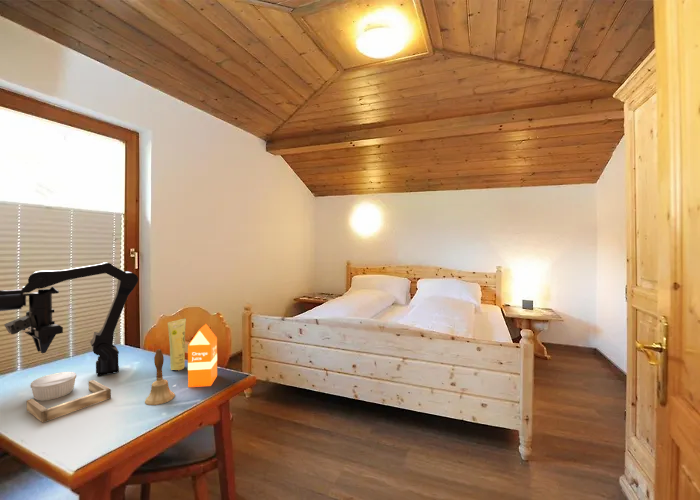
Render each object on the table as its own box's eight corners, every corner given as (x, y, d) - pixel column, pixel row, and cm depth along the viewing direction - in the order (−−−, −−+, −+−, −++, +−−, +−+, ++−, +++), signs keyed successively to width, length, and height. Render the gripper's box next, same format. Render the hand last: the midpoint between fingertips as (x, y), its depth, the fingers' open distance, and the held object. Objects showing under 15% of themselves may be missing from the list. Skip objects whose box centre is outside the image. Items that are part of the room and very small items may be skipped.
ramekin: (47, 404, 98) (47, 387, 98) (20, 400, 101) (20, 384, 101) (85, 388, 109) (85, 373, 109) (60, 385, 112) (59, 370, 112)
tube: (182, 371, 124) (181, 321, 124) (167, 372, 123) (167, 322, 122) (186, 365, 130) (185, 318, 129) (172, 366, 128) (172, 318, 128)
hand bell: (143, 407, 97) (142, 355, 96) (146, 396, 104) (145, 347, 104) (174, 401, 100) (174, 351, 100) (175, 390, 108) (174, 344, 107)
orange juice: (217, 375, 120) (217, 322, 120) (211, 385, 112) (210, 329, 111) (195, 376, 119) (195, 323, 119) (187, 387, 110) (187, 330, 110)
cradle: (93, 388, 109) (93, 380, 109) (110, 398, 102) (110, 388, 102) (26, 410, 95) (26, 400, 95) (42, 422, 88) (42, 412, 88)
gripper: (-2, 308, 108) (-1, 354, 108) (16, 315, 98) (17, 365, 99) (42, 303, 117) (43, 345, 118) (63, 308, 108) (63, 354, 108)
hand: (41, 352), depth 110 cm, fingers open, 3 cm apart
